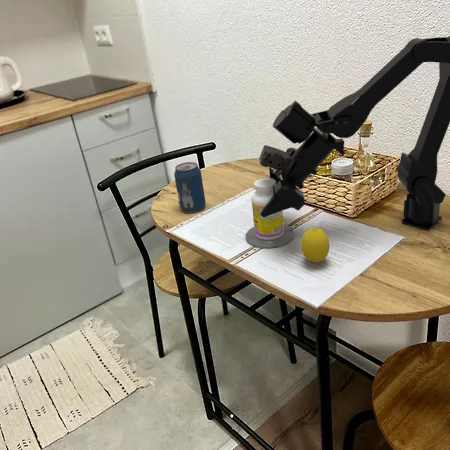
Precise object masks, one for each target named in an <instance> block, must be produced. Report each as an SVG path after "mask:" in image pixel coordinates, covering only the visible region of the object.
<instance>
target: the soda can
mask: <svg viewBox="0 0 450 450" xmlns="http://www.w3.org/2000/svg"><path fill="white" fill-rule="evenodd" d="M174 168H175V170H174V174H173V176H174V181H175V188H176V192H177V198H178V204H179V208H180V209H181V210H182V211H183V212H185V213H187V214H188V213H189V214H192V213H193V214H194V213H197V212H198V213H199V212H201V211H202V210H204V207H205V206H206V197H205V196H206V194H205V191H204V184H203V177H202V176H203V175H202V171H201V168H200V167H199V165H198V163H197V162H193V161H188V162H183V163H179V164H177V165H176V166H175V167H174Z"/></svg>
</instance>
